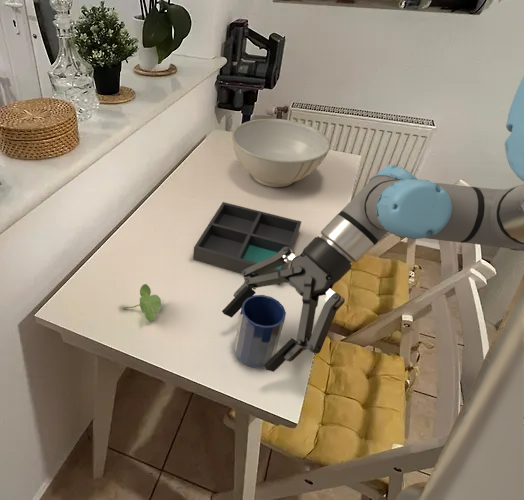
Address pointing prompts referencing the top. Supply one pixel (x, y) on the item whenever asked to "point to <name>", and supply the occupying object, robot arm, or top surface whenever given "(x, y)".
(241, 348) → the cup
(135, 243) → the top surface
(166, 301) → the top surface
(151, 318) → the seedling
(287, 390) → the top surface
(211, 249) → the tray
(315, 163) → the decorative bowl
